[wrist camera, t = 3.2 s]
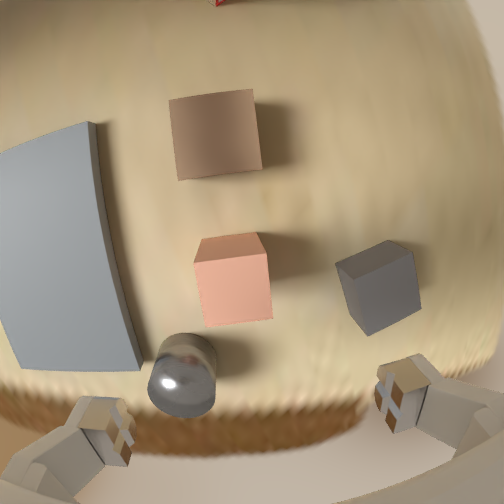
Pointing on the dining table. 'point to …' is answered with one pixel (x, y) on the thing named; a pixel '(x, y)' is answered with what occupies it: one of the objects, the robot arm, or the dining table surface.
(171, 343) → the dark metal cylinder
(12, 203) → the slate board
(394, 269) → the charcoal rubber cube
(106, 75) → the dining table surface
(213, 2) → the stack of blocks
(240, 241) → the terracotta block
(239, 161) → the walnut block
